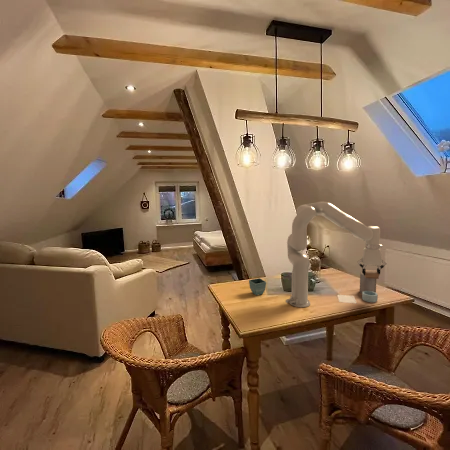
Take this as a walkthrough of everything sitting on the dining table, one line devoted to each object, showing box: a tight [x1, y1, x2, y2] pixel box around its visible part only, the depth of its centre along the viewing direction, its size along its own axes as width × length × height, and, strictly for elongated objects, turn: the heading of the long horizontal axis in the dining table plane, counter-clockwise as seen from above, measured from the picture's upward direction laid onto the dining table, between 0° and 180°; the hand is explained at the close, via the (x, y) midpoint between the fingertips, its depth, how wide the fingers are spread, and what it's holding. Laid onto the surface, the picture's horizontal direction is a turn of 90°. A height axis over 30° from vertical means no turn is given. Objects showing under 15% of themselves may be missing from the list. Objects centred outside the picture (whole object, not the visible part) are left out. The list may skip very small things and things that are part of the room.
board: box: [364, 269, 380, 280], centre depth 172 cm, size 7×7×3 cm
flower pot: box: [248, 277, 267, 296], centre depth 188 cm, size 9×9×9 cm
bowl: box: [361, 291, 379, 303], centre depth 174 cm, size 8×8×4 cm
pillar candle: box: [359, 270, 377, 294], centre depth 185 cm, size 10×10×15 cm
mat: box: [337, 294, 357, 304], centre depth 177 cm, size 12×10×1 cm
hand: (371, 274), depth 172 cm, fingers closed on board, 7 cm apart
